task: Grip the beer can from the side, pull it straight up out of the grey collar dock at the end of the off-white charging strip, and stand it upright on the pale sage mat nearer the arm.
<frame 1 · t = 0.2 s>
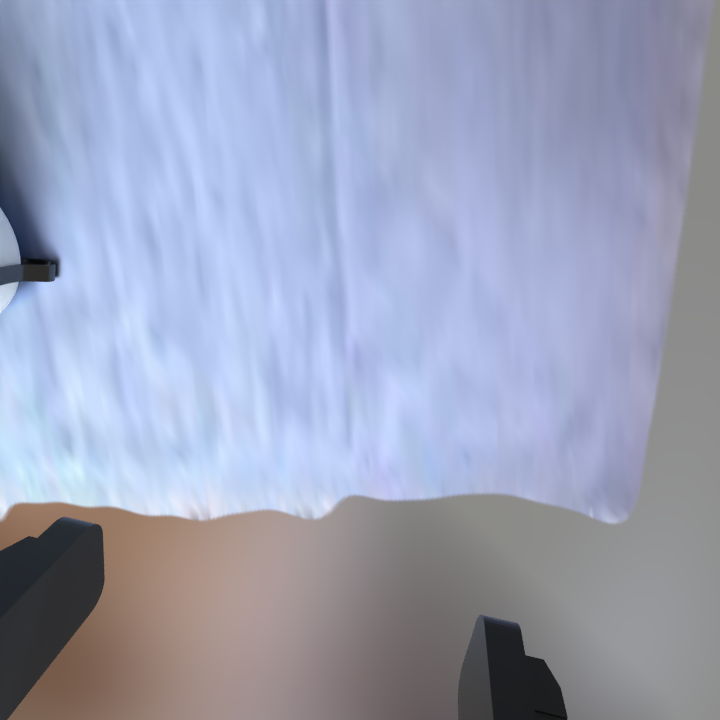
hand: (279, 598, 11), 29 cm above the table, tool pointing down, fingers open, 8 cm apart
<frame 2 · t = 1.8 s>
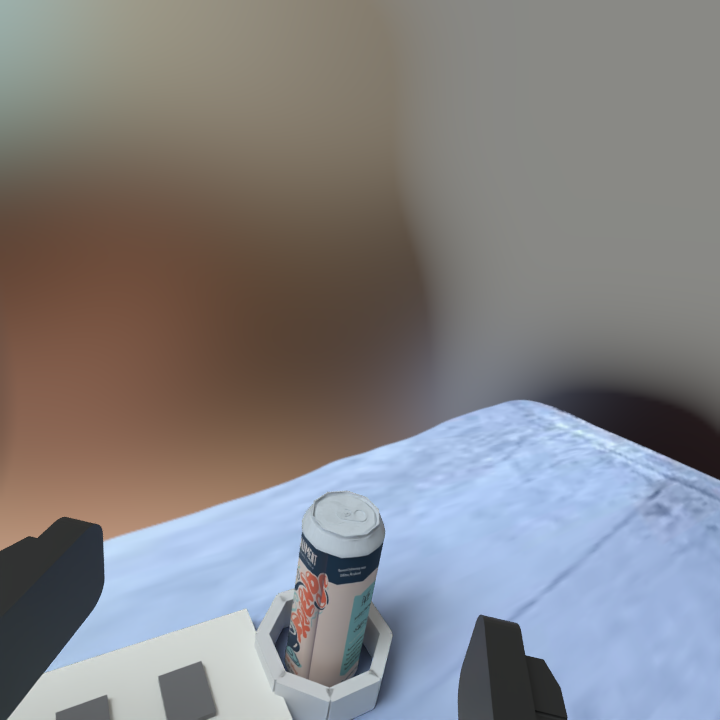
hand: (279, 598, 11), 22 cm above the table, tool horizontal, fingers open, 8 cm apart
charging dock: (320, 661, 34), on the table
beer can: (320, 663, 34), resting in charging dock
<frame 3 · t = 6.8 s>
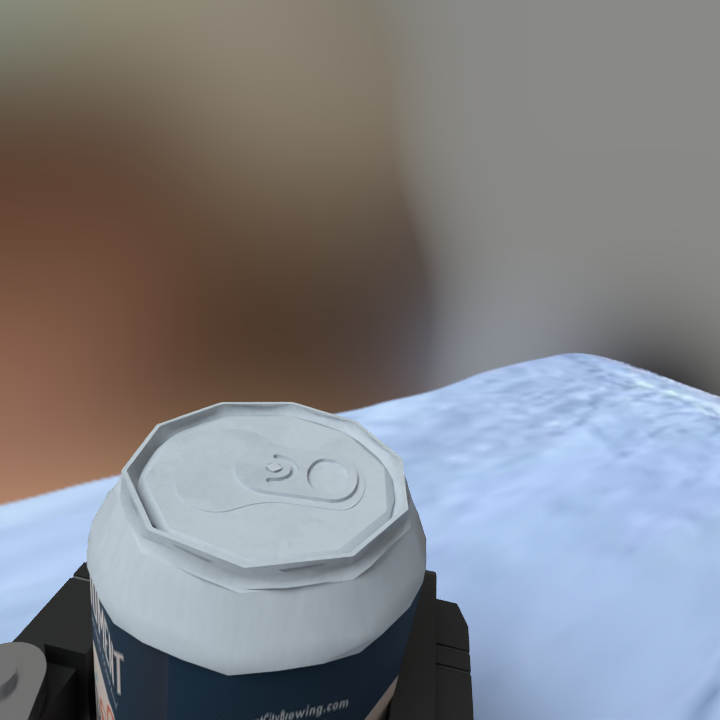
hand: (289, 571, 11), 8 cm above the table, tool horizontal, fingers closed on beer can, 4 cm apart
when the fingers open (9 cm above the table, at t = 12.0 s): beer can stays where it is, resting on sage mat.
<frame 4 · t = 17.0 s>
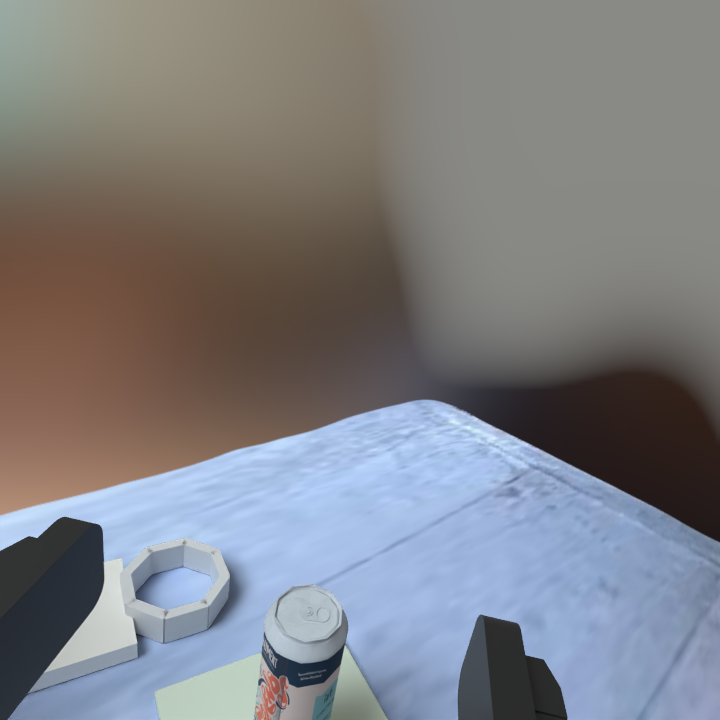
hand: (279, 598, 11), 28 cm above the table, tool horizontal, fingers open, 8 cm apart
charging dock: (175, 597, 44), on the table
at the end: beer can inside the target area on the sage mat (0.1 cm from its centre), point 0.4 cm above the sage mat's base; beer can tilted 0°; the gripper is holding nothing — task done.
